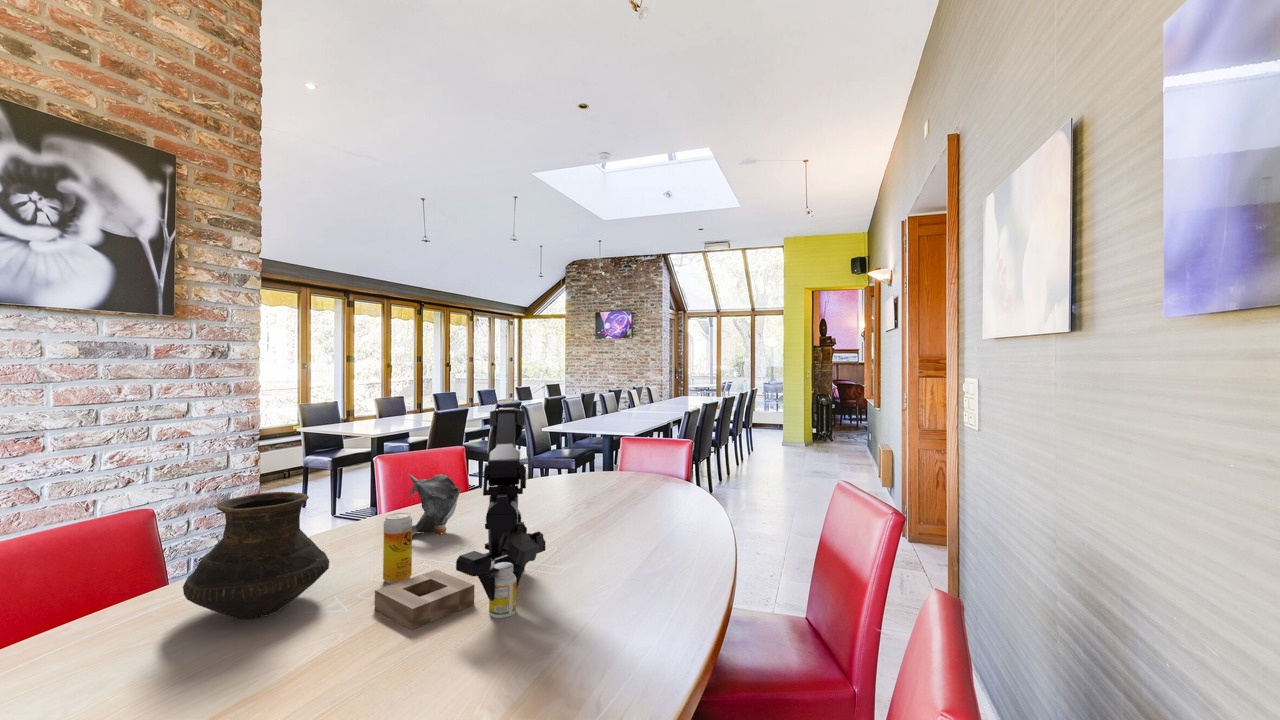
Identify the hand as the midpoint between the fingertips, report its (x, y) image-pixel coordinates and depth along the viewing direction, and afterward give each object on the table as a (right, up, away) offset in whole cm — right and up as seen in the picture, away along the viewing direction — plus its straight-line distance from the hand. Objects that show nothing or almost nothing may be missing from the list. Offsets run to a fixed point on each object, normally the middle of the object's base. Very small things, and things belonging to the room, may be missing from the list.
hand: (502, 595), depth 108 cm
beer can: (-29, -4, +16) cm, 33 cm away
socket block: (-17, -3, +2) cm, 17 cm away
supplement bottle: (0, -4, 0) cm, 4 cm away
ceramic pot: (-50, -3, +1) cm, 50 cm away
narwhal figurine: (-34, -4, +50) cm, 61 cm away
